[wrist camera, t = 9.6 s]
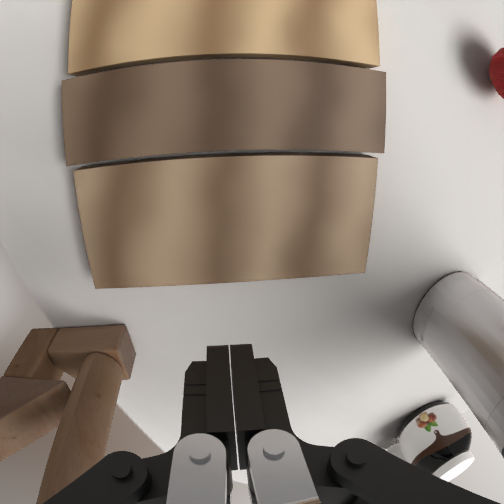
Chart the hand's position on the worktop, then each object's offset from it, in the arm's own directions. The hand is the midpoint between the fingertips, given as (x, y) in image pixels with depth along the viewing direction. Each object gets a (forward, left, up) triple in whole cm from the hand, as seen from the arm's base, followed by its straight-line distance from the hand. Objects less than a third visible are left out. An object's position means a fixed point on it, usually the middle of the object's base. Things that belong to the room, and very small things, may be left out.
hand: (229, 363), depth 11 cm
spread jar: (-28, +33, -15) cm, 46 cm away
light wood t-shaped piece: (+14, +10, -15) cm, 23 cm away
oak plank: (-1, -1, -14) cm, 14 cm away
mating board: (-1, -9, -14) cm, 17 cm away
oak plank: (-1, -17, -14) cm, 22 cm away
